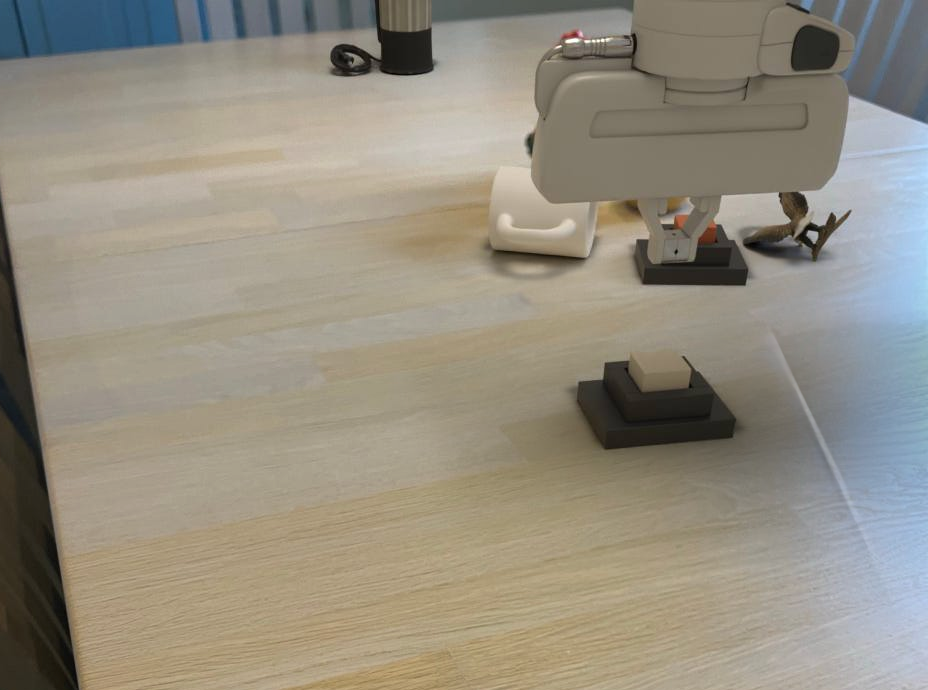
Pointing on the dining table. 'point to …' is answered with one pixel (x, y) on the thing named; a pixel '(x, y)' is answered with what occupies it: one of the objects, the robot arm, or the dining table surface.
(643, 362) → the cream key
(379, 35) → the milk frother
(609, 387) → the black stepped base
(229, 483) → the dining table surface
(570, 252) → the mug
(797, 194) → the eagle figurine
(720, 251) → the dark grey stepped base
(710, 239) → the terracotta key
